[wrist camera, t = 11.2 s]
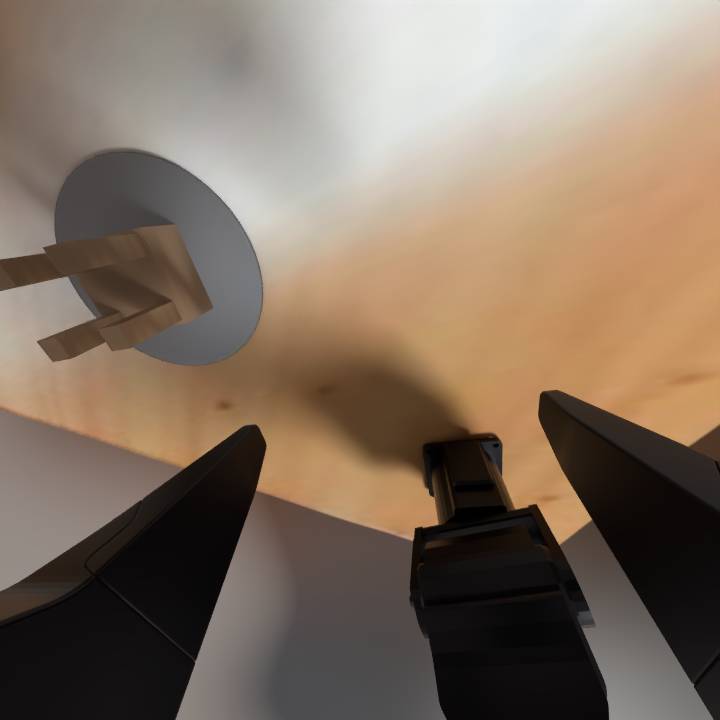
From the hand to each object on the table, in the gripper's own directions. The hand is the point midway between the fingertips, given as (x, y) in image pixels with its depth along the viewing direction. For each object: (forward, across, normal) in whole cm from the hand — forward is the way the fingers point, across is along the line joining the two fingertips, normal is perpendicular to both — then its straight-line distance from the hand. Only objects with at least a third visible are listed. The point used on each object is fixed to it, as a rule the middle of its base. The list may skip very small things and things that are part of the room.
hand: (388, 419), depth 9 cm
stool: (+12, +15, -5) cm, 20 cm away
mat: (+12, +15, -5) cm, 20 cm away
